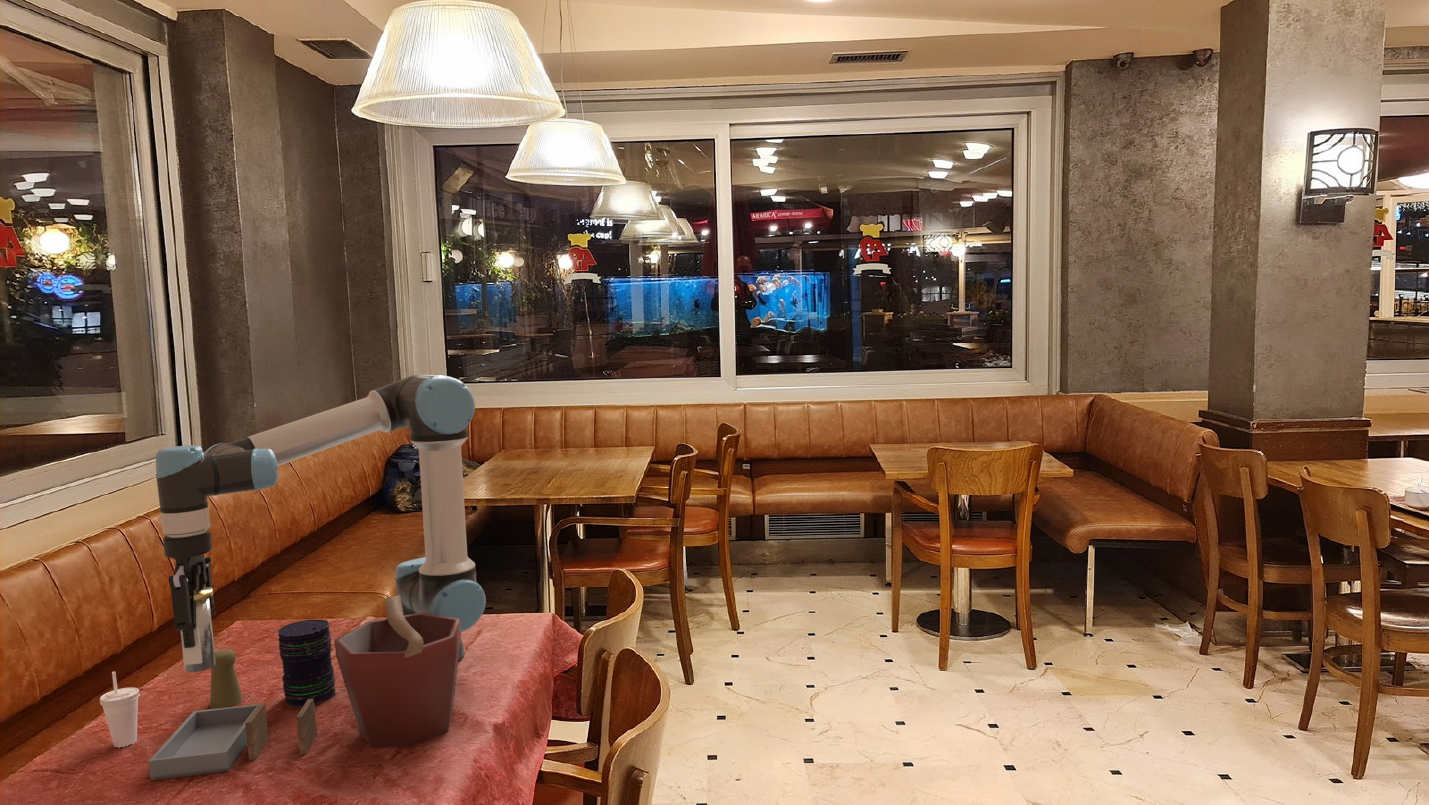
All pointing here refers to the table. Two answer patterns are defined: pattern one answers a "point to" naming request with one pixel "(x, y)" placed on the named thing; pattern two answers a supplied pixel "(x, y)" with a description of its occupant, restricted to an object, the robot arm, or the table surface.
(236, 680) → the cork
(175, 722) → the table surface
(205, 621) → the silver metal cylinder
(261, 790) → the table surface
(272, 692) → the table surface
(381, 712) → the bucket
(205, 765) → the tray
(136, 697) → the smoothie
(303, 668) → the storage jar
